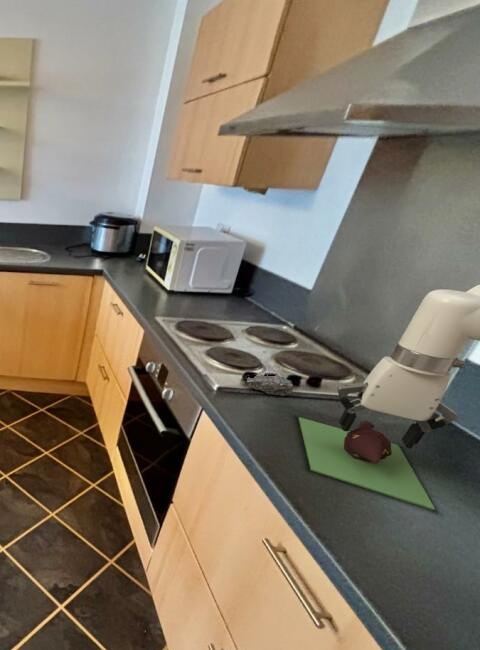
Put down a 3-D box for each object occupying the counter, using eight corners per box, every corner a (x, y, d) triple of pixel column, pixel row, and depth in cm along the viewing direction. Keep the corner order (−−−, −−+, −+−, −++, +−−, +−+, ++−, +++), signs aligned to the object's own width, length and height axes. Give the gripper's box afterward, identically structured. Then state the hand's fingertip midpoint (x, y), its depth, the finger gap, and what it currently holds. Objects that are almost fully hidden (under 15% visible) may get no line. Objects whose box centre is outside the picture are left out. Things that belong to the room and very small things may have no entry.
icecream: (415, 461, 74) (390, 427, 86) (369, 437, 77) (351, 408, 89) (383, 486, 78) (364, 451, 90) (340, 463, 80) (327, 431, 92)
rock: (240, 377, 115) (246, 364, 113) (282, 386, 112) (289, 373, 110) (244, 389, 109) (250, 375, 107) (289, 399, 105) (296, 385, 103)
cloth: (397, 446, 90) (398, 444, 90) (434, 510, 73) (435, 509, 73) (298, 418, 98) (299, 416, 98) (310, 470, 81) (311, 469, 80)
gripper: (478, 364, 74) (425, 441, 82) (355, 341, 81) (318, 413, 89) (498, 381, 68) (439, 462, 76) (364, 354, 76) (323, 430, 83)
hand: (374, 436), depth 83 cm, fingers open, 9 cm apart
